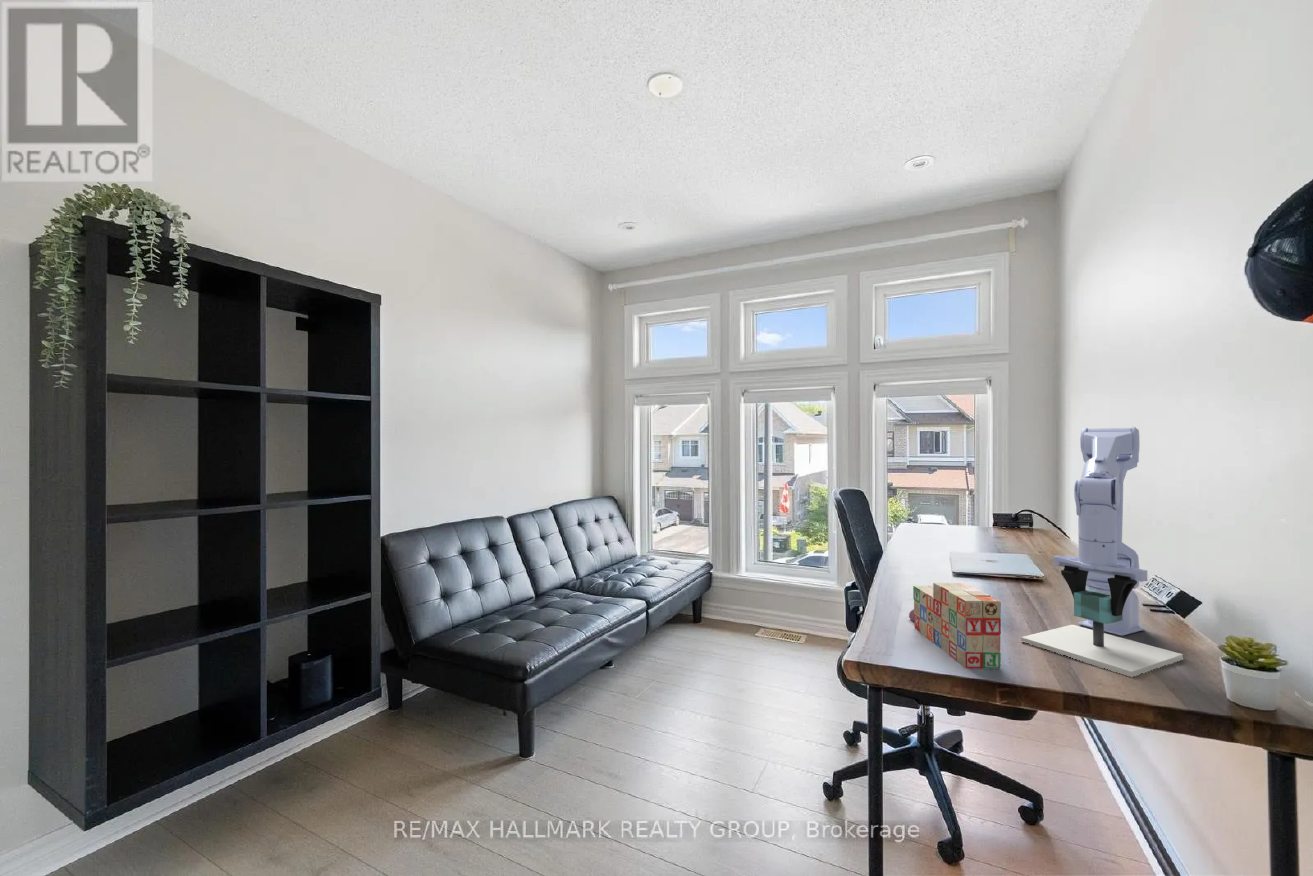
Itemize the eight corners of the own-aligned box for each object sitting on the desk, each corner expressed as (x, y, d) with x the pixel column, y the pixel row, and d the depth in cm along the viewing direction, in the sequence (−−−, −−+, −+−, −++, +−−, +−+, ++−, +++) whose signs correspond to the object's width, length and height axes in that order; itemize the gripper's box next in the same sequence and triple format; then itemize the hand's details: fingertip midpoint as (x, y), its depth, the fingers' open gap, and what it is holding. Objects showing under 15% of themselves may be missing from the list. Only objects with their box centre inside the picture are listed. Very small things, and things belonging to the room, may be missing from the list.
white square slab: (1072, 629, 114) (1072, 599, 114) (1182, 659, 98) (1182, 625, 98) (1021, 642, 106) (1020, 610, 107) (1131, 677, 90) (1131, 640, 90)
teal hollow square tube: (1089, 612, 106) (1089, 589, 106) (1122, 620, 101) (1122, 596, 101) (1074, 615, 103) (1073, 592, 104) (1107, 624, 99) (1106, 599, 99)
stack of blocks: (913, 628, 115) (912, 571, 115) (942, 628, 115) (942, 571, 115) (965, 669, 94) (965, 599, 94) (1002, 670, 93) (1001, 600, 94)
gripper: (1044, 535, 107) (1044, 603, 107) (1132, 548, 94) (1133, 624, 94) (1064, 533, 110) (1065, 598, 110) (1152, 545, 97) (1153, 619, 97)
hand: (1098, 610), depth 102 cm, fingers closed on teal hollow square tube, 5 cm apart
